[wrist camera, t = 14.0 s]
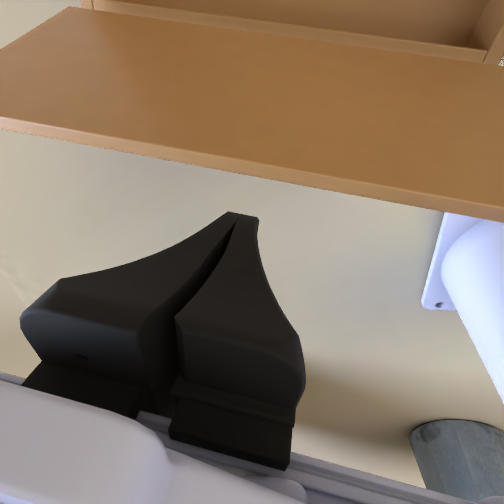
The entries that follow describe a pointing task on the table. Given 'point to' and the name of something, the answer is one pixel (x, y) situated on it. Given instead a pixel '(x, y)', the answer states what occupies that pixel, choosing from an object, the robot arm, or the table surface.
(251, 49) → the flap
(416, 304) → the table surface
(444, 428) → the moka pot
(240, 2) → the carton
